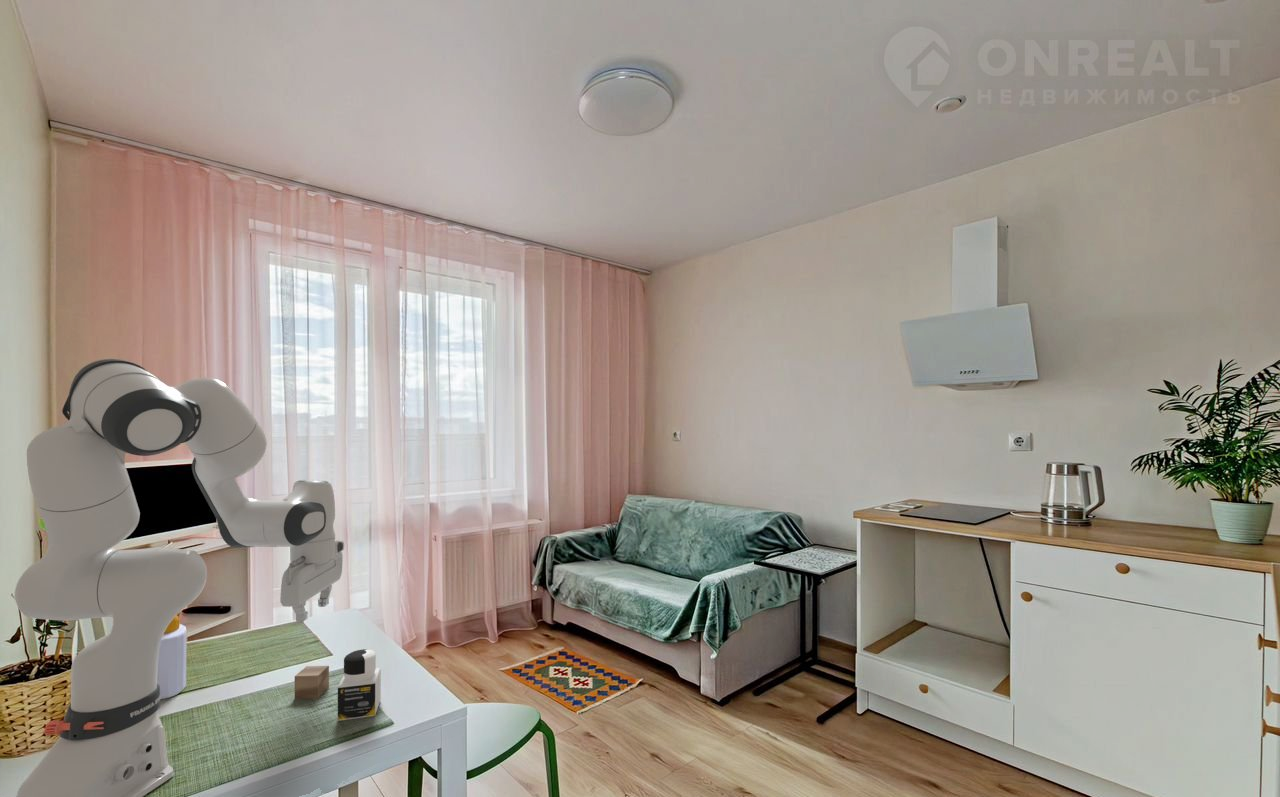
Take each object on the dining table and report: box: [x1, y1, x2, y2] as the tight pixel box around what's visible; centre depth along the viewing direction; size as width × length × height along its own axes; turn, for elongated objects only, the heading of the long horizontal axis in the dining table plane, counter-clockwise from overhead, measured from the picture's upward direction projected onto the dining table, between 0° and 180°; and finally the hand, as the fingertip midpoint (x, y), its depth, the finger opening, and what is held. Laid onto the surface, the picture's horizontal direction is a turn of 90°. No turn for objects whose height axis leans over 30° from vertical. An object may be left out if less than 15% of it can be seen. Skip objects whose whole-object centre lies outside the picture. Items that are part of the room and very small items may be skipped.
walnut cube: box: [294, 665, 330, 700], centre depth 131 cm, size 5×5×5 cm
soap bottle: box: [157, 614, 188, 700], centre depth 133 cm, size 13×8×20 cm, turn 46°
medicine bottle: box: [337, 648, 382, 722], centre depth 123 cm, size 7×7×12 cm
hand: (313, 613), depth 131 cm, fingers open, 8 cm apart
